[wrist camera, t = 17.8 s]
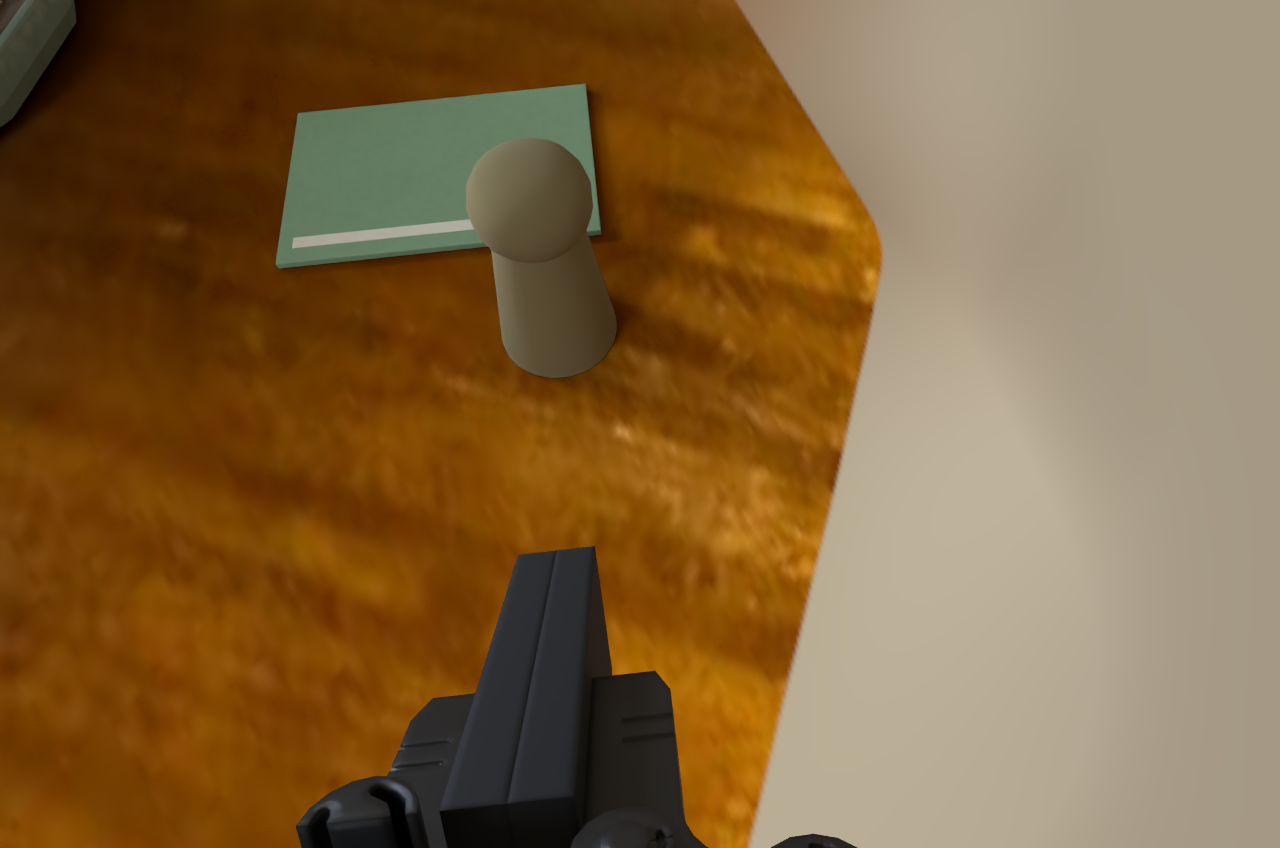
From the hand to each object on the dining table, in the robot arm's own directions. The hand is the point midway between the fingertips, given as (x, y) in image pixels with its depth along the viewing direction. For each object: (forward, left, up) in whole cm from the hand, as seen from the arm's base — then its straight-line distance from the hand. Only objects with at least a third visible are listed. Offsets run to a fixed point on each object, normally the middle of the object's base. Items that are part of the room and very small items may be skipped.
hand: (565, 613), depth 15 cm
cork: (+1, -19, -18) cm, 26 cm away
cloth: (+8, -31, -18) cm, 37 cm away
